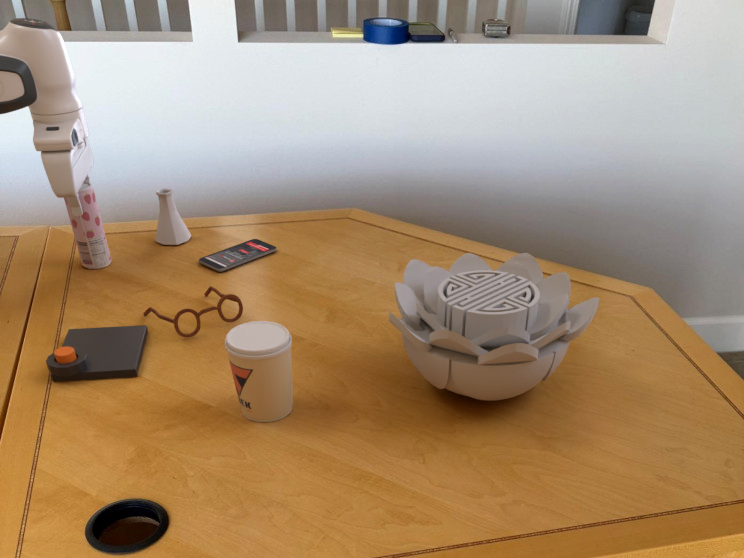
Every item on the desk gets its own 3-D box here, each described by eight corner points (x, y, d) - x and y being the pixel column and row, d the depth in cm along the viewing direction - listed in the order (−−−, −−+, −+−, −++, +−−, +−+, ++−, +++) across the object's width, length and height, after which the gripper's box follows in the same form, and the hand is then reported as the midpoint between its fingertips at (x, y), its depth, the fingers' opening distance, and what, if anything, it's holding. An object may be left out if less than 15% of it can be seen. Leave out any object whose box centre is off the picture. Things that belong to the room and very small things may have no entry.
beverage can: (111, 256, 157) (91, 179, 147) (112, 267, 153) (93, 189, 143) (82, 260, 156) (60, 182, 146) (82, 271, 152) (60, 192, 142)
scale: (48, 385, 121) (42, 368, 119) (68, 336, 132) (63, 320, 130) (136, 380, 122) (132, 363, 120) (148, 332, 134) (144, 316, 132)
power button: (55, 365, 120) (52, 356, 119) (58, 355, 122) (56, 346, 121) (74, 364, 120) (72, 355, 119) (78, 354, 123) (75, 345, 121)
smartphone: (277, 247, 159) (219, 269, 151) (278, 250, 160) (220, 273, 151) (255, 238, 163) (196, 259, 154) (255, 241, 163) (197, 262, 155)
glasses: (179, 343, 131) (174, 315, 127) (143, 316, 138) (137, 289, 135) (245, 319, 137) (242, 292, 134) (207, 295, 144) (203, 269, 141)
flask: (149, 243, 163) (138, 194, 156) (169, 231, 168) (159, 183, 161) (178, 248, 161) (168, 198, 154) (197, 236, 166) (189, 187, 159)
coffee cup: (229, 399, 118) (216, 326, 110) (287, 386, 121) (280, 315, 112) (244, 431, 111) (233, 357, 103) (306, 417, 114) (299, 343, 106)
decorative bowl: (469, 316, 139) (475, 232, 128) (609, 378, 123) (628, 288, 113) (343, 377, 123) (338, 286, 113) (484, 457, 107) (494, 360, 97)
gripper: (55, 111, 145) (76, 188, 155) (30, 143, 130) (55, 226, 140) (89, 110, 146) (108, 186, 155) (68, 142, 131) (91, 224, 140)
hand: (83, 205), depth 147 cm, fingers open, 8 cm apart
